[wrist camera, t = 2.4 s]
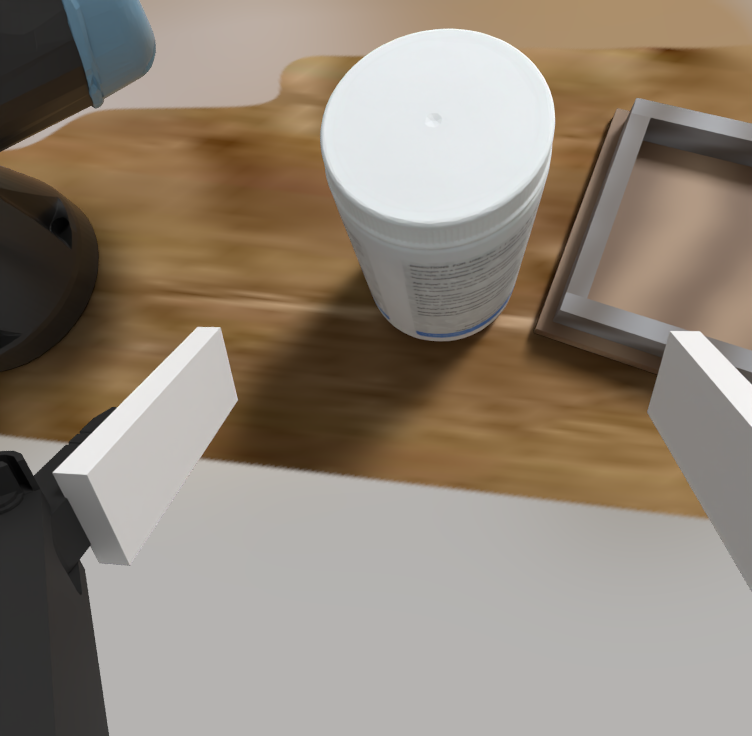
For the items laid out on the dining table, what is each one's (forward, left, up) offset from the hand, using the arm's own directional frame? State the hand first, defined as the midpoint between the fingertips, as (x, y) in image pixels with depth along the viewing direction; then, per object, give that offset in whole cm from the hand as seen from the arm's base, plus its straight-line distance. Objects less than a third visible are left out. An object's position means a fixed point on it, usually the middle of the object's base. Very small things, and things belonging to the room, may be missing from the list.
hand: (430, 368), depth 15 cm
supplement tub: (-4, +10, -17) cm, 20 cm away
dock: (+12, +17, -16) cm, 26 cm away
